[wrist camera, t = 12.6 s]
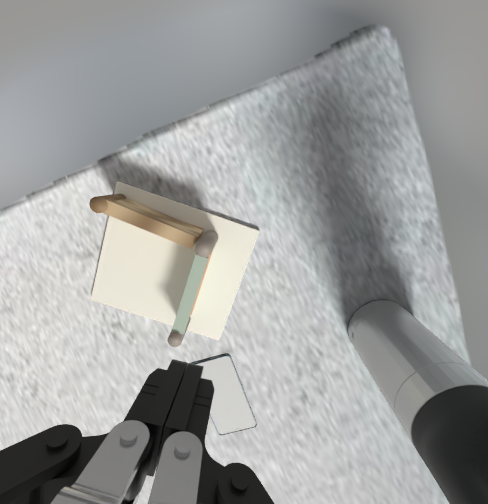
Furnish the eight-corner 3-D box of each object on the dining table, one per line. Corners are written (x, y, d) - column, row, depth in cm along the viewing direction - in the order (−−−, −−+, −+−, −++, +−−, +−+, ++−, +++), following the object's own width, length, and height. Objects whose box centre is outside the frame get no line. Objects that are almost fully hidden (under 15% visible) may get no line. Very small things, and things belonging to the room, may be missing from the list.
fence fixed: (220, 232, 39) (214, 243, 32) (190, 323, 43) (179, 351, 36) (207, 227, 39) (197, 238, 32) (177, 319, 43) (164, 346, 36)
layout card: (259, 230, 39) (259, 231, 38) (219, 338, 43) (219, 340, 43) (118, 181, 37) (116, 181, 37) (92, 298, 42) (90, 300, 41)
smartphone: (229, 353, 44) (257, 426, 47) (229, 351, 44) (257, 423, 48) (187, 364, 44) (219, 436, 48) (188, 362, 45) (219, 433, 49)
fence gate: (204, 228, 38) (196, 237, 32) (199, 240, 38) (190, 251, 33) (115, 191, 37) (91, 194, 31) (112, 204, 37) (87, 209, 32)
